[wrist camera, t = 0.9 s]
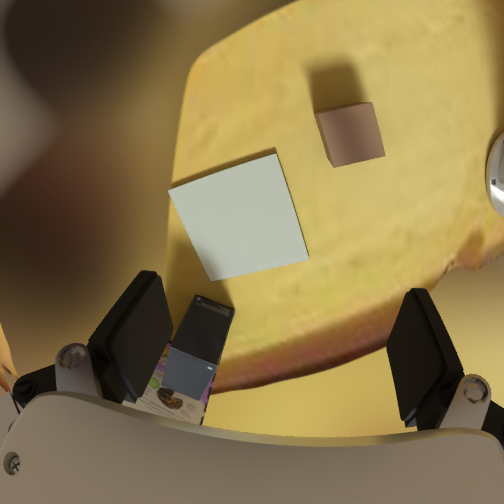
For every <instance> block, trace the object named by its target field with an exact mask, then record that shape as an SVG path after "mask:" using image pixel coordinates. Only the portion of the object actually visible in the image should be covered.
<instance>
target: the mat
mask: <svg viewBox="0 0 504 504" xmlns="http://www.w3.org/2000/svg"><path fill="white" fill-rule="evenodd" d="M168 192H169V194H170V196H171V199H172V201H173V203H174V205H175V208H176V210H177V212H178V214H179V216H180V219H181V221H182V223H183V225H184V227H185V229H186V232H187V234H188V236H189V238H190V240H191V242H192V244H193V246H194V248H195V251H196V253H197V255H198V257H199V259H200V261H201V263H202V265H203V267H204V269H205V271H206V273H207V275H208V277H209V279H210V281H211V282H212V281H217V280H222V279H226V278H231V277H236V276H240V275H245V274H249V273H254V272H258V271H263V270H267V269H271V268H276V267H280V266H285V265H289V264H293V263H298V262H302V261H306V260H309V256H308V252H307V249H306V245H305V242H304V238H303V235H302V232H301V228H300V225H299V222H298V218H297V215H296V212H295V209H294V205H293V202H292V199H291V196H290V193H289V189H288V186H287V183H286V180H285V177H284V174H283V171H282V168H281V165H280V162H279V159H278V156H277V153H274V154H270V155H267V156H264V157H261V158H257V159H254V160H251V161H248V162H245V163H242V164H239V165H236V166H233V167H230V168H227V169H224V170H221V171H218V172H215V173H212V174H210V175H207V176H204V177H201V178H199V179H196V180H193V181H190V182H188V183H185V184H183V185H180V186H177V187H175V188H172V189H170V190H169V191H168Z"/></svg>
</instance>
